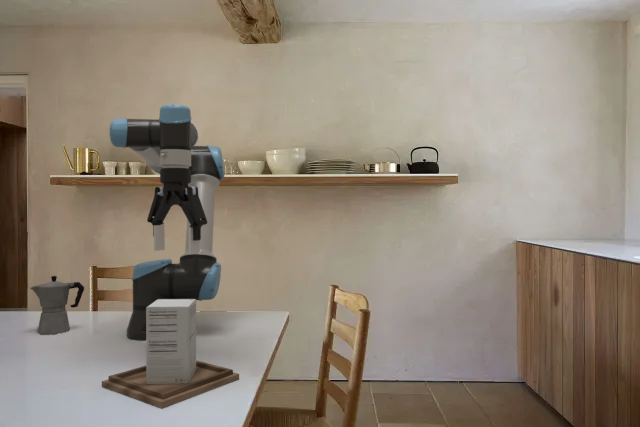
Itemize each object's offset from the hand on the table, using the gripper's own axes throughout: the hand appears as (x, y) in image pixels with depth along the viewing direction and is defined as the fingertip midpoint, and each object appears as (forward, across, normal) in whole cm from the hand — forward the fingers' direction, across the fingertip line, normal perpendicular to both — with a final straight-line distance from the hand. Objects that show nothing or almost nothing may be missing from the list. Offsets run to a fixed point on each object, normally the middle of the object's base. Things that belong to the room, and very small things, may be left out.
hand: (176, 252), depth 124 cm
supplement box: (+27, +11, -10) cm, 31 cm away
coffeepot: (+30, -60, 0) cm, 67 cm away
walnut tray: (+28, +11, -10) cm, 32 cm away
